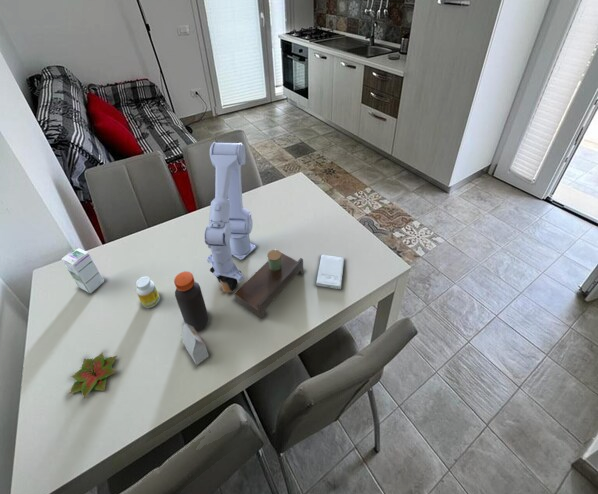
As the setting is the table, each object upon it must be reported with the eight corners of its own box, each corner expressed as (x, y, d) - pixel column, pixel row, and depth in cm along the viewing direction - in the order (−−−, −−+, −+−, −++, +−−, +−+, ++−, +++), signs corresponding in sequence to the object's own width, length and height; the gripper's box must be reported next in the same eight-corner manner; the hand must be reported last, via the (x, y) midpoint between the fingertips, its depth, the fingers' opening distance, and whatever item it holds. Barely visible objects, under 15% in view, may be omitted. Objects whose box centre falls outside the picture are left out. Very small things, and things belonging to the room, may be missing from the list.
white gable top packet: (196, 365, 89) (189, 345, 84) (185, 347, 94) (177, 326, 88) (208, 356, 91) (202, 335, 86) (197, 338, 96) (190, 318, 90)
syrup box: (105, 281, 113) (89, 251, 105) (89, 294, 109) (72, 264, 100) (93, 275, 115) (77, 246, 107) (78, 288, 111) (60, 258, 103)
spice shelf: (235, 300, 106) (233, 287, 102) (278, 257, 121) (277, 245, 117) (261, 318, 100) (259, 306, 97) (303, 271, 115) (303, 259, 112)
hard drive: (343, 260, 119) (340, 289, 109) (321, 257, 120) (316, 285, 110) (344, 257, 118) (341, 286, 108) (321, 254, 119) (316, 282, 109)
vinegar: (188, 336, 96) (172, 293, 85) (183, 317, 101) (168, 274, 90) (211, 326, 99) (199, 282, 88) (205, 308, 104) (193, 265, 93)
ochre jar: (218, 288, 109) (216, 277, 106) (229, 279, 112) (226, 268, 109) (228, 295, 107) (226, 284, 103) (238, 285, 110) (236, 274, 107)
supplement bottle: (141, 297, 107) (132, 278, 102) (158, 291, 109) (151, 272, 104) (142, 311, 103) (133, 291, 98) (160, 304, 105) (153, 284, 100)
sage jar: (265, 267, 112) (264, 255, 109) (274, 258, 116) (273, 247, 112) (276, 273, 110) (275, 262, 107) (284, 264, 113) (283, 253, 110)
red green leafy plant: (109, 398, 83) (102, 389, 80) (59, 403, 82) (51, 394, 80) (126, 350, 93) (121, 341, 90) (82, 354, 92) (75, 345, 90)
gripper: (196, 254, 102) (204, 282, 110) (229, 276, 95) (235, 305, 102) (213, 240, 107) (220, 268, 114) (246, 260, 100) (250, 289, 107)
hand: (228, 285), depth 109 cm, fingers closed on ochre jar, 4 cm apart
